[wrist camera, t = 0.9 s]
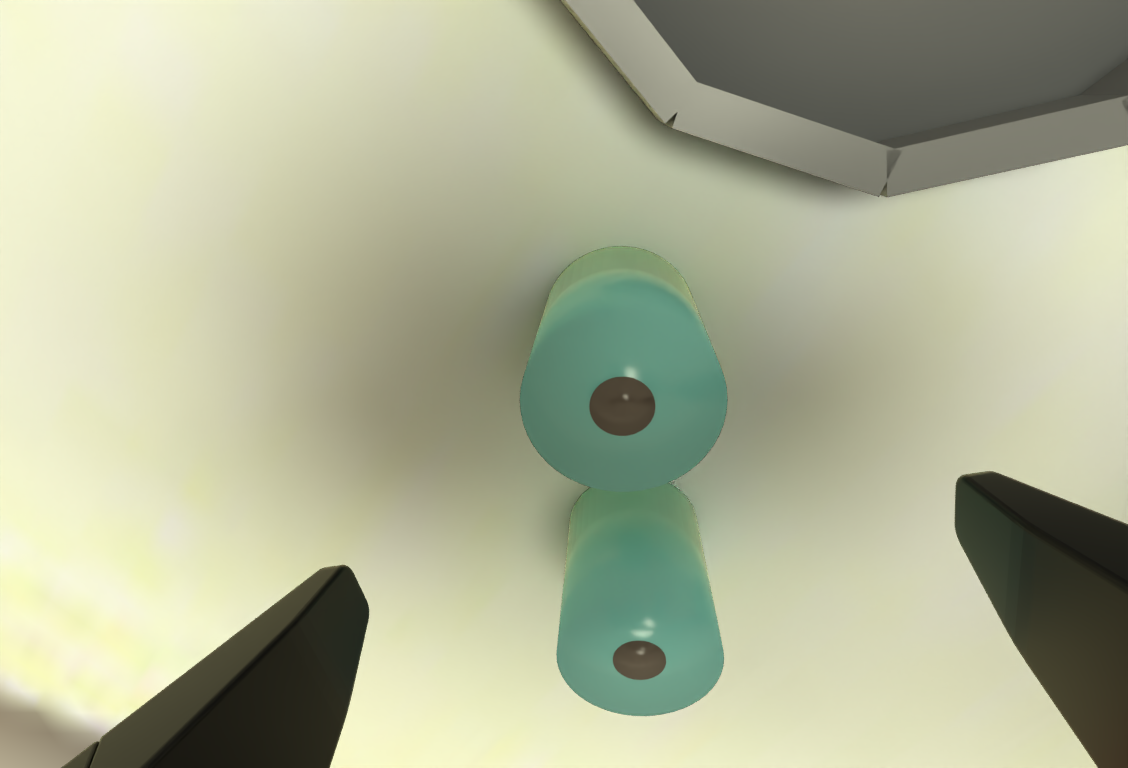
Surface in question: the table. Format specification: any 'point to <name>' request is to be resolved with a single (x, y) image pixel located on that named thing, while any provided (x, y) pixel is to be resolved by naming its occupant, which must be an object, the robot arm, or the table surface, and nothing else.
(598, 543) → the bead
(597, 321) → the bead
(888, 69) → the tray
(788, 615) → the table surface
